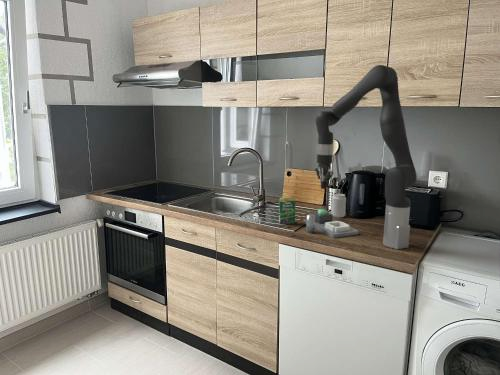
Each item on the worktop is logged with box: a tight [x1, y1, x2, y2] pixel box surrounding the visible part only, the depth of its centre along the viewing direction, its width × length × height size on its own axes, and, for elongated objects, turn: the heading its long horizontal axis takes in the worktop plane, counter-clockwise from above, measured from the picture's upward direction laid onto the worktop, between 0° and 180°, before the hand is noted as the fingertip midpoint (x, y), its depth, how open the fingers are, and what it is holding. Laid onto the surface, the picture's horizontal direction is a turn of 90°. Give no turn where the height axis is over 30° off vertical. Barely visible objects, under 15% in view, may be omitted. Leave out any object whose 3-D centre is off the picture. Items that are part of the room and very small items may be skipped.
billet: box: [305, 213, 316, 234], centre depth 169 cm, size 4×4×8 cm
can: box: [330, 193, 347, 219], centre depth 196 cm, size 8×8×12 cm
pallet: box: [303, 211, 360, 239], centre depth 176 cm, size 26×14×6 cm, turn 22°
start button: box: [317, 208, 328, 215], centre depth 182 cm, size 4×4×3 cm
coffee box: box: [278, 197, 296, 225], centre depth 182 cm, size 8×3×13 cm, turn 91°
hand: (323, 188), depth 179 cm, fingers closed
